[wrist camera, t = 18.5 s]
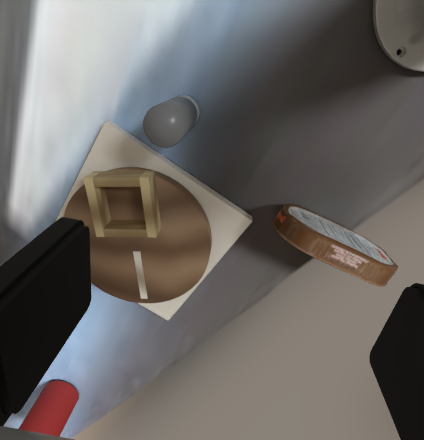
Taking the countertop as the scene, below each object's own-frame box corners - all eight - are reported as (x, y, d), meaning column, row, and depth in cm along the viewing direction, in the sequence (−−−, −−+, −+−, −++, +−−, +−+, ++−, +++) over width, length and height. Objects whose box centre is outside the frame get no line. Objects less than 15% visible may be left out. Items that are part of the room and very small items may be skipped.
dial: (54, 166, 39) (32, 178, 35) (208, 165, 37) (203, 177, 33) (86, 292, 47) (72, 313, 43) (214, 296, 45) (211, 318, 41)
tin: (268, 211, 41) (273, 245, 33) (281, 191, 40) (289, 221, 32) (368, 259, 42) (395, 301, 35) (384, 240, 41) (415, 280, 34)
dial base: (109, 120, 38) (104, 122, 36) (252, 216, 41) (252, 222, 40) (47, 243, 46) (41, 249, 45) (170, 313, 50) (168, 321, 48)
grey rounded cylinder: (169, 93, 36) (143, 102, 27) (201, 97, 36) (185, 107, 27) (168, 126, 37) (143, 144, 28) (198, 129, 37) (182, 150, 28)
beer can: (86, 390, 60) (51, 460, 49) (70, 405, 63) (34, 476, 52) (55, 372, 59) (13, 441, 48) (41, 389, 61) (-3, 458, 51)
